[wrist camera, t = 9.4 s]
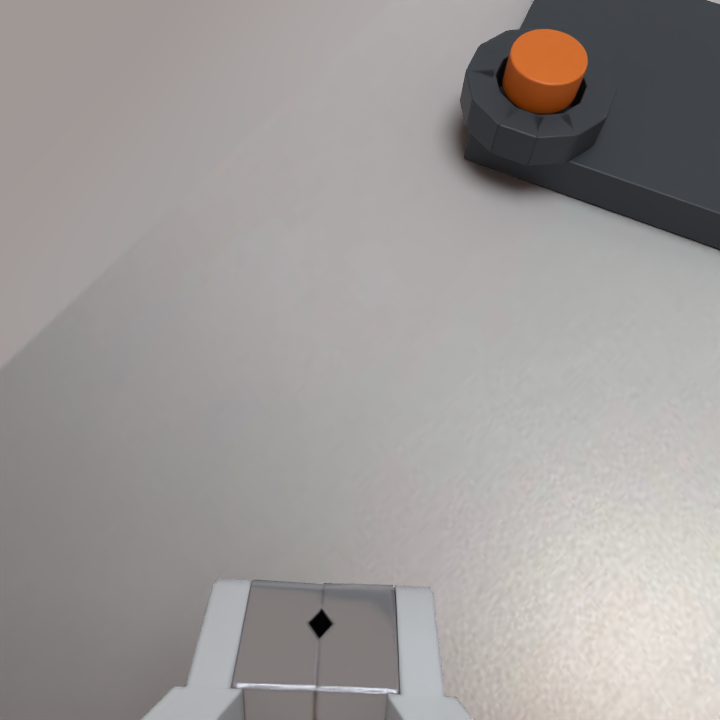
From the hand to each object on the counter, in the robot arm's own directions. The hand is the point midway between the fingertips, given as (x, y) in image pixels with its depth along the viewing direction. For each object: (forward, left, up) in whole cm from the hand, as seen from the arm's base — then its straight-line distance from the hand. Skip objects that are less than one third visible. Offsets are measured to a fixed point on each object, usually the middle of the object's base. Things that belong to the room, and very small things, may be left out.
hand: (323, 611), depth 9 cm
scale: (+4, +26, -13) cm, 29 cm away
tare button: (-1, +22, -10) cm, 24 cm away
